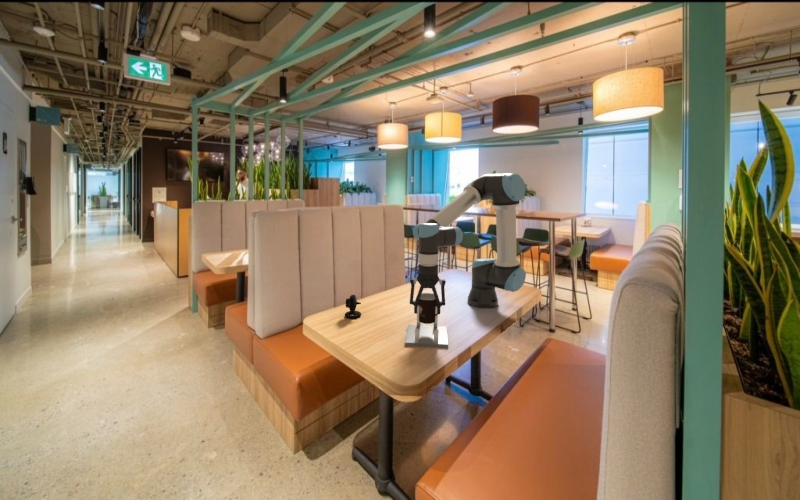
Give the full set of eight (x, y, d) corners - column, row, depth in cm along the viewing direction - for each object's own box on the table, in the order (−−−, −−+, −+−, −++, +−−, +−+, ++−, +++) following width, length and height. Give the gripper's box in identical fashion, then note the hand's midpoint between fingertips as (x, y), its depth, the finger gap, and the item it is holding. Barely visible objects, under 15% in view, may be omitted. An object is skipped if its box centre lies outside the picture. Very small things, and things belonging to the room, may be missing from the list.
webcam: (346, 312, 160) (345, 292, 158) (362, 313, 160) (361, 292, 158) (343, 319, 152) (342, 297, 150) (359, 319, 152) (359, 297, 150)
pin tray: (446, 328, 142) (446, 314, 141) (448, 347, 125) (448, 331, 124) (408, 327, 143) (408, 313, 142) (405, 345, 127) (405, 329, 126)
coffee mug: (414, 316, 139) (415, 293, 137) (435, 316, 139) (436, 292, 138) (418, 328, 127) (419, 302, 125) (441, 327, 128) (442, 302, 126)
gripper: (453, 262, 132) (451, 318, 136) (403, 261, 134) (403, 317, 138) (454, 266, 125) (452, 326, 129) (402, 265, 126) (401, 324, 130)
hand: (427, 321), depth 133 cm, fingers closed on coffee mug, 6 cm apart
